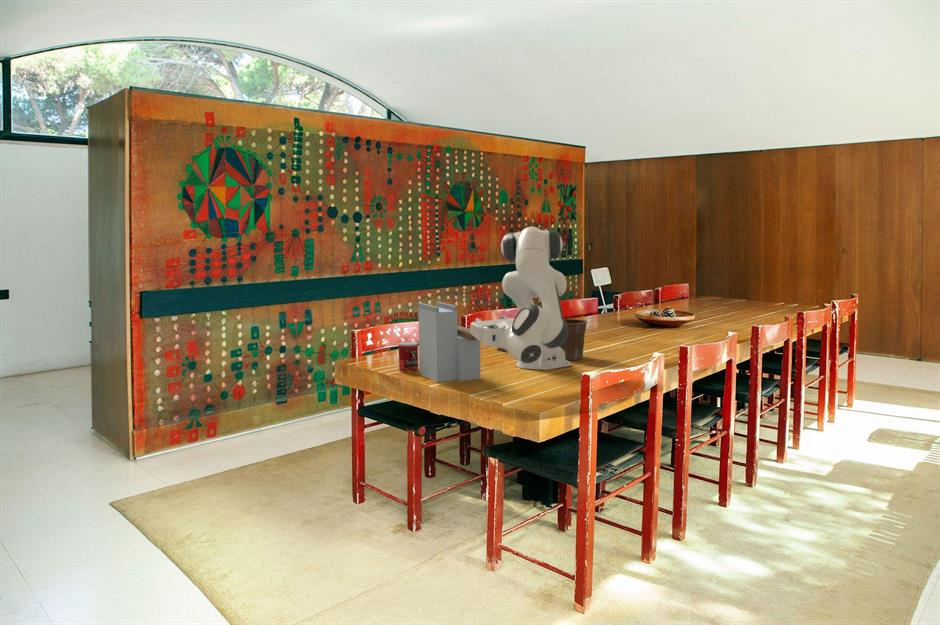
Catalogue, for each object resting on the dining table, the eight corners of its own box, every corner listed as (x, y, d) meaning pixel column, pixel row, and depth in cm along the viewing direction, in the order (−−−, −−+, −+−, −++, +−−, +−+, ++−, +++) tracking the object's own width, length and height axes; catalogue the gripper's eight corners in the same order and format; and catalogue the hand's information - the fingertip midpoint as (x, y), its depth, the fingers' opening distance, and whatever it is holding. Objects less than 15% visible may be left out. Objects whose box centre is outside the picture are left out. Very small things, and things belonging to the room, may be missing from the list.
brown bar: (456, 331, 280) (456, 325, 279) (482, 339, 260) (482, 332, 260) (446, 332, 278) (446, 325, 277) (471, 340, 258) (471, 333, 258)
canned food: (405, 372, 280) (405, 345, 278) (395, 369, 286) (394, 342, 285) (422, 370, 284) (421, 343, 283) (411, 367, 290) (411, 340, 289)
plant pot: (541, 357, 309) (541, 320, 307) (568, 353, 319) (568, 317, 317) (567, 363, 296) (568, 324, 294) (594, 358, 306) (595, 321, 304)
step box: (459, 369, 285) (458, 300, 281) (480, 378, 268) (480, 305, 264) (419, 373, 277) (418, 303, 274) (439, 383, 260) (437, 308, 257)
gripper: (536, 323, 239) (516, 308, 250) (481, 328, 230) (463, 313, 242) (534, 340, 241) (514, 324, 253) (480, 346, 233) (462, 330, 244)
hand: (489, 318), depth 247 cm, fingers open, 8 cm apart
